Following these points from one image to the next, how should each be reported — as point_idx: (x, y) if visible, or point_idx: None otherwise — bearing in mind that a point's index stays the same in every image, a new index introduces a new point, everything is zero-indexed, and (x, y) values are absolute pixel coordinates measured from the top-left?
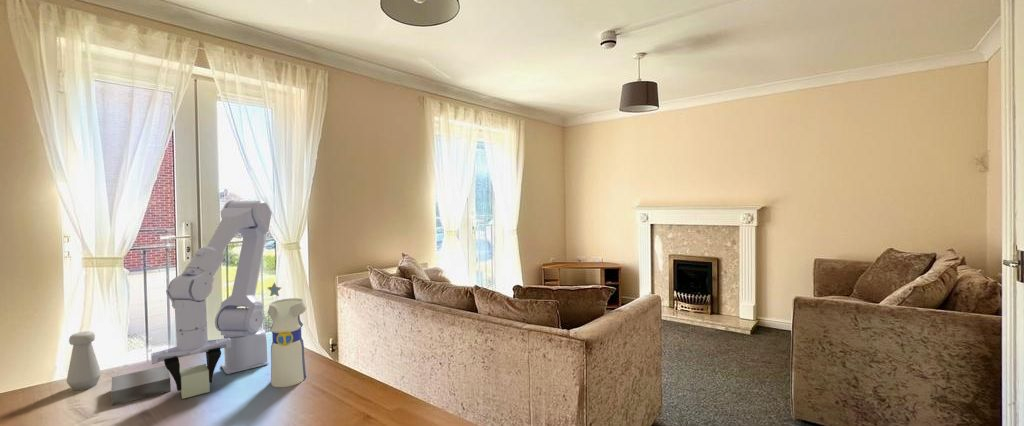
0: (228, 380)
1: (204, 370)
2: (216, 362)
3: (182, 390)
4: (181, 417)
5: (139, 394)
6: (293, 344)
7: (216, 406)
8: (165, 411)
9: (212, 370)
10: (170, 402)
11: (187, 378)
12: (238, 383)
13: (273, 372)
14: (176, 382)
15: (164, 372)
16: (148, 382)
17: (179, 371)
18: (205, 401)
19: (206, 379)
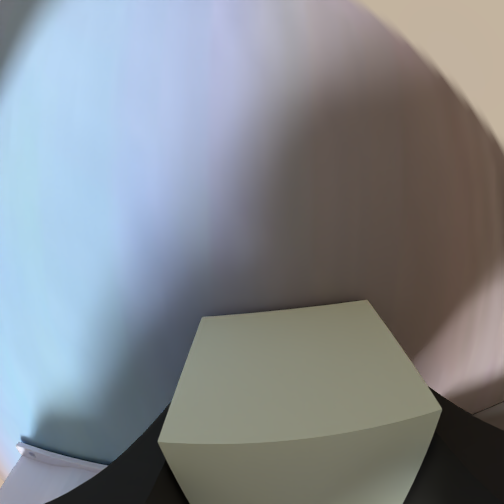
0: (124, 416)
1: (204, 464)
2: (71, 492)
3: (384, 330)
4: (361, 5)
5: (489, 422)
6: None
7: (163, 33)
8: (450, 169)
9: (141, 448)
10: (420, 300)
11: (377, 398)
12: (64, 343)
13: None
14: (438, 394)
15: None
16: None
17: (469, 464)
18: (226, 164)
19: (201, 377)
